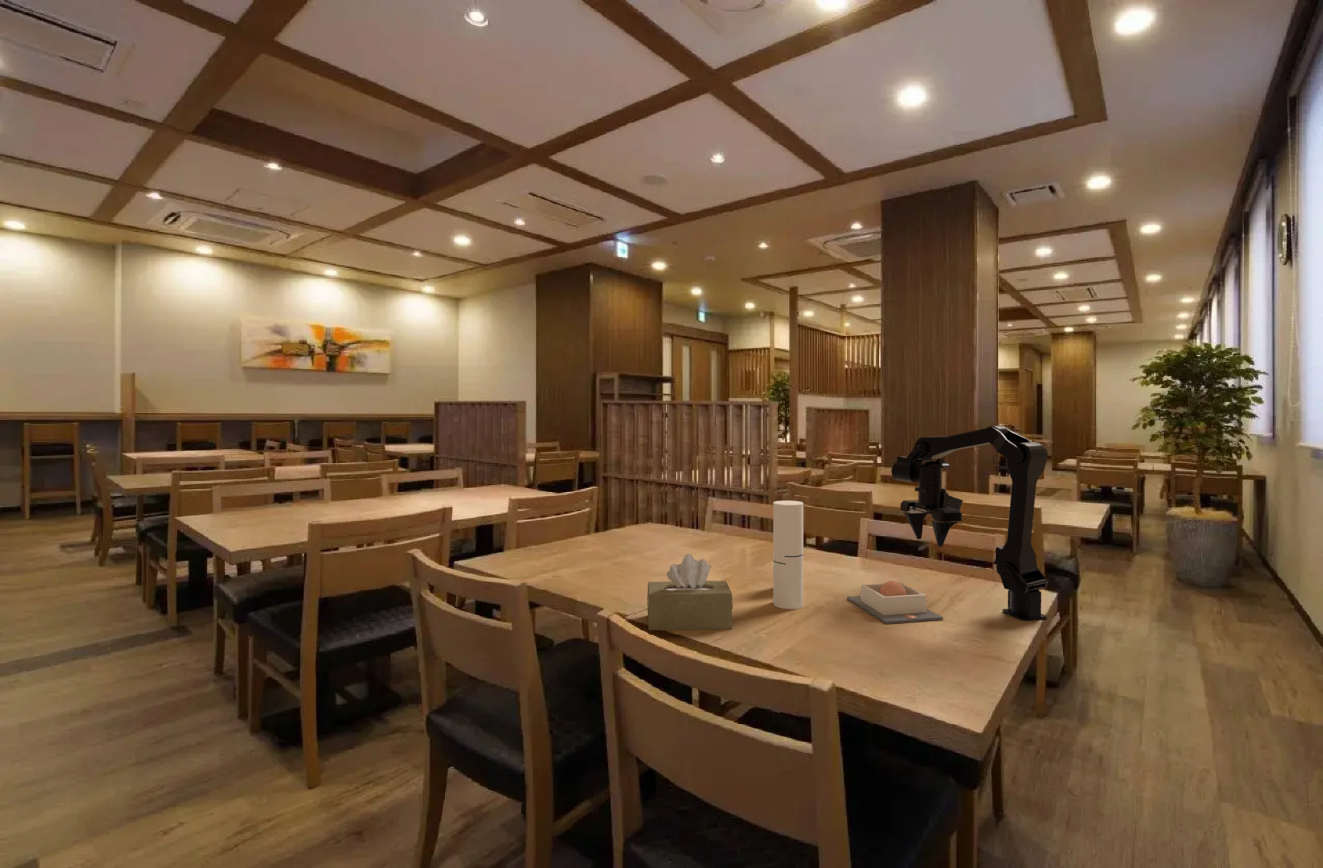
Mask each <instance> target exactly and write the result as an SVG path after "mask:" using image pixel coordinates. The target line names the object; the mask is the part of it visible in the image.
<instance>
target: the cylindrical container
mask: <svg viewBox="0 0 1323 868" xmlns="http://www.w3.org/2000/svg"><path fill="white" fill-rule="evenodd" d="M772 503H773V504H772V506H773V507H772V509H773V510H772V511H773V512H772V513H773V514H772V515H773V516H772V517H773V519H772V521H773V522H772V523H773V524H772V527H773V529H772V535H773V537H772V538H773V542H772V545H773V547H772V548H773V549H772V551H773V555H772V559H773V561H772V562H773V563H772V565H773V566H772V571H773V572H772V573H773V574H772V575H773V579H772V581H773V582H772V583H773V584H772V585H773V587H772V588H773V590H772V594H773V595H772V596H773V597H772V598H773V599H772V601H773V602H772V604H773V605H774V606H775V607H776V608H779V609H783V610H798V609H801V608H803V607H804V502H803V501H799V500H776V501H773V502H772Z"/></svg>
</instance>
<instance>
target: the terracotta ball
mask: <svg viewBox="0 0 1323 868" xmlns="http://www.w3.org/2000/svg"><path fill="white" fill-rule="evenodd" d="M883 583H884V584H883V585H882V586H881V588H880V594H882V595H883V596H885V597H888V596H903V595H907V594H906V590H905V588H904V587H903V586H902V585H901V584H900V583H898V581H895V580H894V581H893V580H890V581H889V580H888V581H886V582H883Z"/></svg>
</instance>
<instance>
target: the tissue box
mask: <svg viewBox="0 0 1323 868" xmlns="http://www.w3.org/2000/svg"><path fill="white" fill-rule="evenodd" d="M711 567H712V565H710V564H709V563H708V562H707V560H705V559H704V558H701V559H699V560H697V559H695V558H694V557H693V554H690V553H687V554H685V555H684V556H683V559H682V561H681V563H680V564H676V563H673V564H672V565H670V568H669V570H668V571H667V572H666V576H667V579H668V580H669V581H649V582H647V583H648V584H647V596H646V604H647V624H648V625H647V626H648V627H647V628H648V631H687V630H688V631H691V630H692V631H693V630H694V631H696V630H701V631H702V630H732V629H733V608H734V607H733V593H732V590H731V588H730V586H729V584H728V582H727V581H726V580H707V579H708V576H709V574H710V570H711Z"/></svg>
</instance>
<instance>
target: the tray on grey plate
mask: <svg viewBox="0 0 1323 868" xmlns="http://www.w3.org/2000/svg"><path fill="white" fill-rule="evenodd" d="M897 582H898V581H897ZM884 583H885V582H882V583H869V584H868V583H867V584H865V583H864V584H860V595H853V596H846V597H847V598H846V599H847V600H848V601H849V602H851V603H852V604H854V605H855V606H857V607H859V608H861V610H863V611H865V612H867V613H868V614H869V615H871V616H872V617H874V618H876V619H877V620H879V621H880V622H882V623H884V624H885V625H890V624H902V623H903V624H906V623H917V622H929V621H931V622H932V621H941V620H942V621H943V620H944V617H943V616H942V615H940V614H938V613H936V612H934V611H932V610H930V609H929V608H927V594H925V593H923V592H921V591H919V590H916V588H913V587H911V586H909V585H907V584H905V583H903V582H901V581H900V582H898V583H900V584H901V585H902V586H903V587H904V588H905V590H906V594H907V595H903V596H888V597H885V596H883V595H882V594H880V588H881V586H882V585H883V584H884Z"/></svg>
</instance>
